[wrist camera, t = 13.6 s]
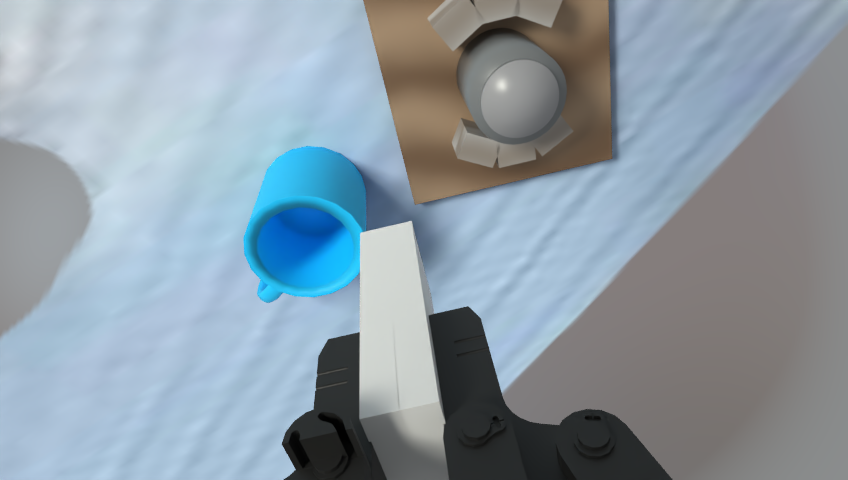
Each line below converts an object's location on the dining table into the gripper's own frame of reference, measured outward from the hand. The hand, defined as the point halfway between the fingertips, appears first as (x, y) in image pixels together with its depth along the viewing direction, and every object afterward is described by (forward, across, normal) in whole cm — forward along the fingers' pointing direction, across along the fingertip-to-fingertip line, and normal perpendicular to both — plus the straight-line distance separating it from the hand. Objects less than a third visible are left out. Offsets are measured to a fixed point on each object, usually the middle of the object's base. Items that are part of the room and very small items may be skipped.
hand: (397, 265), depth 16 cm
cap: (+25, +8, -3) cm, 27 cm away
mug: (+27, -9, -11) cm, 30 cm away
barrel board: (+26, +8, -3) cm, 28 cm away
